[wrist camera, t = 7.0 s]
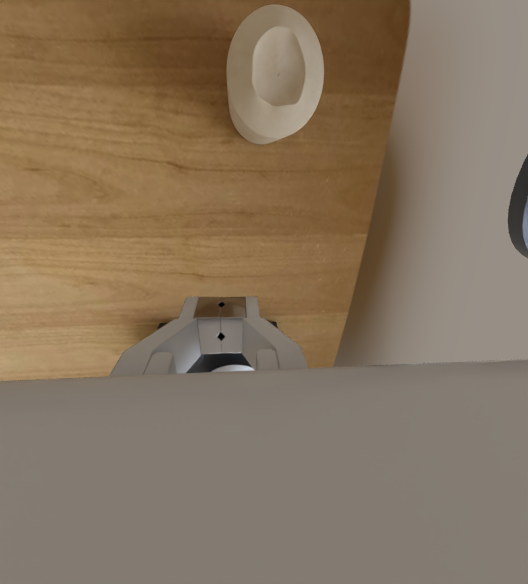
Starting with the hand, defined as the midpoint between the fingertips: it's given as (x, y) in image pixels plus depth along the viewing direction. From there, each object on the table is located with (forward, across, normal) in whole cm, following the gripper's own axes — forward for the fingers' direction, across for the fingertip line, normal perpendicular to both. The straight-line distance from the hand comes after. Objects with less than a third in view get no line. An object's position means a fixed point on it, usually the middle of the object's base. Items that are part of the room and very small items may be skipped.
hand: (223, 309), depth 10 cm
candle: (+17, -3, -10) cm, 20 cm away
